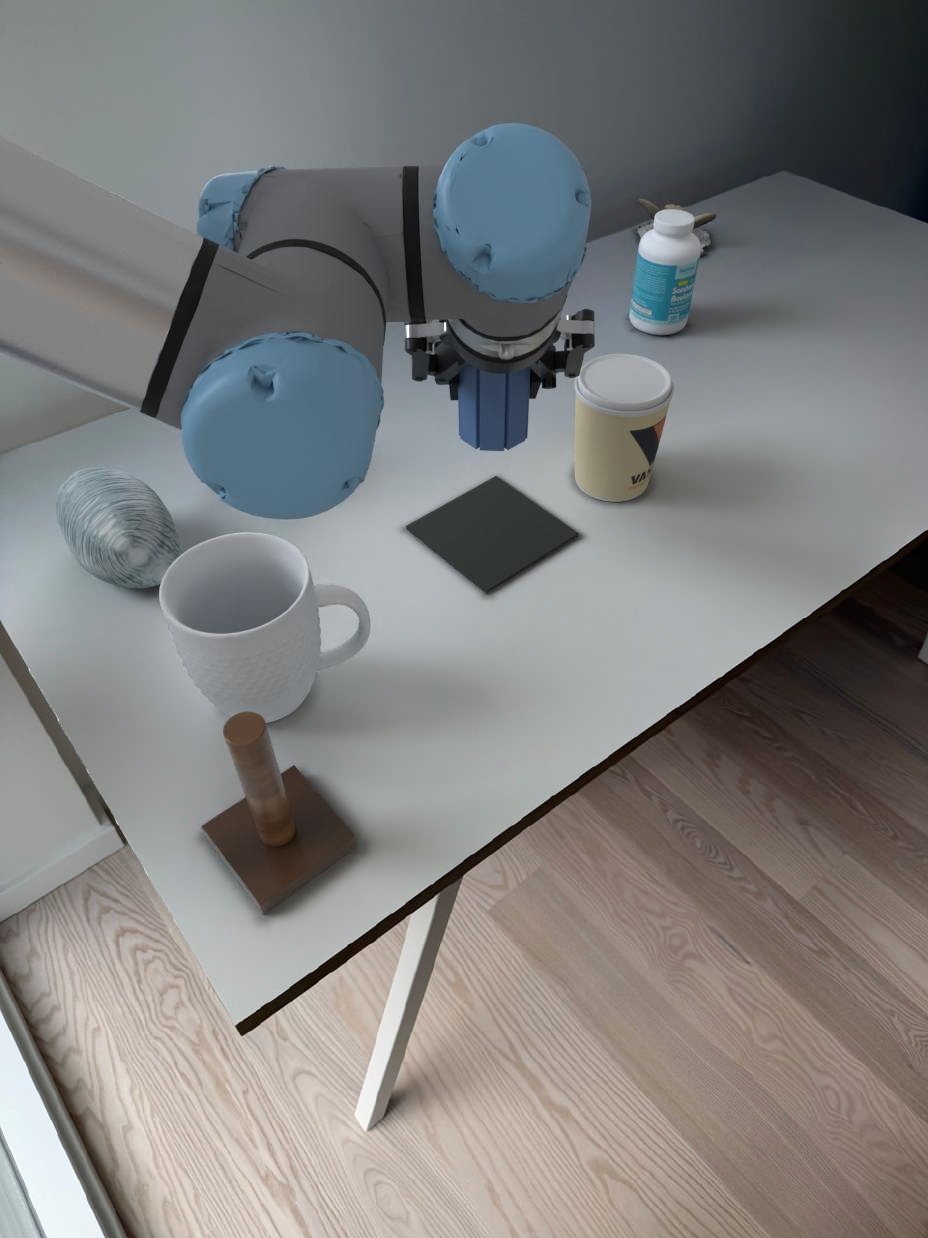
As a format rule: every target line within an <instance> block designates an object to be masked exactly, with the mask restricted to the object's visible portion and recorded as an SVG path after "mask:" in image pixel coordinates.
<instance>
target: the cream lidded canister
mask: <svg viewBox="0 0 928 1238" xmlns="http://www.w3.org/2000/svg"><path fill="white" fill-rule="evenodd" d="M574 379H575V380H574V391H575V402H574V403H575V404H574V405H575V408H574V409H575V410H574V480H575V483H576V485H577V487H578V489H580V490H581V491H582V492H583V493H584V494H585V495H587V496H589V497H591V498H593V499H595V500H599V501H602V502H608V503H609V502H610V503H621V502H626V501H632V500H634V499H635V498H638V497H639V496H641V495H642V494H643V493H644V492H645V491H646V489H647V487H648V485H649V482H650V479H651V475H652V472H653V469H654V466H655V461H656V458H657V454H658V450H659V446H660V443H661V440H662V439H661V438H662V435H663V431H664V427H665V423H666V419H667V414H668V411H669V407H670V403H671V401H672V399H673V396H674V392H675V385H674V382H673V379H672V377H671V373H670V372H669V371H668V370H667V369H666V368H665V367H664V366H663V365H662V364H661V363H659V362H657V361H655V360H653V359H651V358H648V357H645V356H641V355H638V354H632V353H609V354H604V355H601V356H598V357H595V358H593V359H591V360H589V361H588V362H586V363H585V364H584V365H582V366H581V371H580V375H579V376H577V377H575V378H574Z"/></svg>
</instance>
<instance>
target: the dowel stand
mask: <svg viewBox="0 0 928 1238" xmlns="http://www.w3.org/2000/svg"><path fill="white" fill-rule="evenodd" d="M222 734H223V738H224V741H225V743H226V746H227V749H228V752H229V755H230V757H231V760H232V763H233V767H234V768H235V772H236V774H237V777H238V780H239V782H240V785H241V789H242V792H243V795H244V796H245V797H243V798H241V799H240V800H238V801H237V802H236V803H234V804H233V805H231V806H229V807H228V808H227V809H225V810H223V811H222V812H221V813H218V814H217V815H215V816H214V817H213V818H211V819H210V820H208V821H207V822H205V823H204V824H202V825H201V826H200V827H201V830H202V832H203V835H204V837H205V838H206V840H207V841H208V842H209V844H210V845H211V847H213V849H214V851H215V852H216V854H217V855H218V856H219V857H220V859H221V860H222V862H223V863H224V864H225V865H226V867H227V868H228V869H229V871H230V872H231V873H232V875H233V876H234V878H235V879H236V880H237V882H238V883H239V884H240V886H241V887H242V889H243V890H244V891H245V892H246V895H248V897H249V898H250V899H251V900H252V902H253V904H254V905H255V906H256V907H257V909H258V911H260V913H261V914H262V915H263V916H265V915H266V914H267V913H269V912H271V910H273V909H274V908H276V907H277V906H278V905H279V904H281V903H282V902H284V901H285V900H287V899H288V898H289V897H291V896H292V895H293V894H294V893H296V892H298V891H299V890H300V889H301V888H303V887H304V886H305V885H307V884H308V883H309V882H311V881H312V880H313V879H315V878H317V877H318V876H319V875H321V874H322V873H323V872H325V871H326V870H328V868H330V867H331V866H333V865H334V864H336V863H337V862H338V861H340V860H341V859H342V858H344V857H345V856H347V854H350V853H351V852H352V851H353V850H355V849H356V848H357V847H358V841H357V836H356V834H355V833H354V832H353V831H352V830H351V828H349V826H348V825H347V824H346V823H345V822H344V820H343V819H342V818H341V817H340V816H339V815H338V814H337V812H335V810H334V809H333V808H332V807H331V805H330V804H329V803H328V802H327V801H326V800H325V799H324V797H323V796H322V795H321V793H320V792H318V791H317V790H316V788H315V787H314V786H313V785H312V784H311V783H310V781H309V780H308V779H307V778H306V777H305V775H304V774H303V773H302V772H301V771H300V769H298V767H296V765H295V764H294V765H292V766H290V767H288V768H287V769H285V771H283V772H281V771H280V767H279V763H278V761H277V757H276V753H275V749H274V747H273V743H272V740H271V737H270V736H271V735H270V733H269V730H268V726H267V723H265V720H264V718H263V717H262V716H261V715H259V714H258V713H255V712H250V711H246V712H240V713H238V714H235V715H234V716H230V717H229V718H228V719H227V720H226V722H225V723H224V726H223V728H222Z"/></svg>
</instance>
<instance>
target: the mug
mask: <svg viewBox="0 0 928 1238" xmlns="http://www.w3.org/2000/svg"><path fill="white" fill-rule="evenodd" d="M158 599H159V605H160V609H161V612H162V614H163V616H164V619H165V622H166V624H167V630H168V632H169V634H170V635H171V638H172V642H173V645H174V646H175V648H176V651H177V654H178V656H179V658H180V660H181V662H182V665H183V667H184V668H185V669H186V671H187V674H188V676H189V677H190V679H191V680H192V681H193V682H194V685H195V686H196V687H197V688H198V689H199V691H200V693H201V694H202V695H203V696H204V697H206V698H207V700H208V701H209V702H210V703H212V704H213V705H214V706H215V708H217V709H218V710H220V711H222V713H224V715H225V714H226V715H227V716H229V717H232V716H234V715H235V714H238V713H240V712H246V711H250V712H255V713H258V714H259V715H261V716H262V717H263V718H264V720H265V723H266V724H267V723H272V722H276V721H279V720H282V719H283V718H286V717H287V716H289V715H291V714H292V713H293V712H294V711H296V710H297V709H298V708H299V706H301V704H303V702H304V701H305V699H306V697H307V696H308V694H309V693H310V691H311V690H312V688H313V685H314V682H315V680H316V676H317V673H318V672H321V671H324V670H327V669H329V668H333V667H335V666H338V665H341V664H342V663H344V662H346V661H348V660H350V659H351V658H353V657H355V656H356V655H357V654H358V653H360V652H361V651H362V650H363V648H364V647H365V645H366V644H367V642H368V640H369V638H370V633H371V627H372V626H371V625H372V623H371V615H370V612H369V609H368V606H367V605H366V603H365V601H364V599H363V598H362V597H361V596H360V595H359V594H358V593H357V592H355V591H354V590H352V589H351V588H349V587H346V586H342V585H338V584H332V583H317V584H314V580H313V576H312V572H311V567H310V564H309V561H308V559H307V557H306V556H305V555H304V553H303V552H302V551H301V550H300V549H299V547H298V546H296V545H295V544H293V543H292V542H290V541H288V540H287V539H285V538H282V537H280V536H276V535H273V534H268V533H264V532H263V533H262V532H252V531H250V532H248V531H247V532H244V531H243V532H234V533H227V534H222V535H219V536H216V537H213V538H209V539H207V540H205V541H202V542H200V543H198V544H196V545H194V546H192V547H190V548H188V549H187V550H186V551H184V552H183V553H182V554H180V555H179V557H178V558H177V559H176V560H175V561H174V562H173V563H172V564H171V565H170V567H169V568H168V570H167V571H166V573H165V575H164V577H163V579H162V581H161V584H159V590H158ZM335 605H337V606H345V607H347V608H349V609H350V610H352V611H353V612H354V613H355V614H356V616H357V618H358V626H357V629H356V631H354V633H353V635H352V636H350V637H349V638H348V639H347V640H346V641H344V642H343V643H341V644H340V645H338V646H336V647H334V648H330V649H327V650H324V651H323V650H321V647H322V638H321V637H322V636H321V634H322V629H321V618H320V615H319V612H320V611H319V609H320V608H325V607H328V606H335Z"/></svg>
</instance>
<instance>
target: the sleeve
mask: <svg viewBox="0 0 928 1238" xmlns="http://www.w3.org/2000/svg"><path fill="white" fill-rule="evenodd" d="M530 371H531V368H530V367H527V368H525V369H522V370H520V371H517V372H513V373H507V374H495V373H489V372H485V371H482V370H480V369H478V368H475V367H466V368H465V369H463V370H462V371H461V372H459V373H458V400H457V405H458V406H457V407H458V409H457V410H458V411H457V413H458V436H459V437H460V440H461V441H463V442H465V443H466V444H468V445H469V446H471V447H472V448H473V449H475V450H478V449H479V451H484V452H485V451H486V452H504V451H505V449H506V450H507V451H509V450H511V449H513V448H515V447H517V446H518V445H520V444H522V443H525V442H526V439H528V434H529V413H530V411H529V410H530V399H529V393H530Z"/></svg>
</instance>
